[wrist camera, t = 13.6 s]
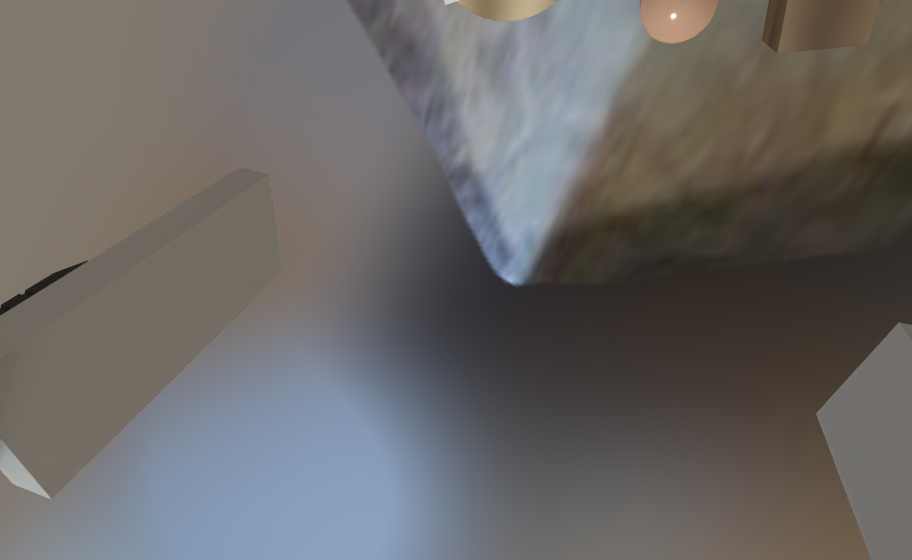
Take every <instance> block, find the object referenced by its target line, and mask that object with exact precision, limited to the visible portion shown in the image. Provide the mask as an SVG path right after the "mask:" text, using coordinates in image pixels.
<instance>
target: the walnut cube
mask: <svg viewBox="0 0 912 560" xmlns="http://www.w3.org/2000/svg"><path fill="white" fill-rule="evenodd" d="M879 3H880V0H769V4H768V10H767V15H766V21H765V26H764V32H763V37H762V40H763V41H764V42H765V43H766V44H767V45H768V46H769V47H770V48H772V49H773V50H774V51H775V52H776V53H787V52H797V51H807V50H817V49H827V48H837V47H847V46H858V45H868V41H869V38H870V34H871V31H872V27H873V24H874V21H875V17H876V14H877V10H878V7H879Z"/></svg>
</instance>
